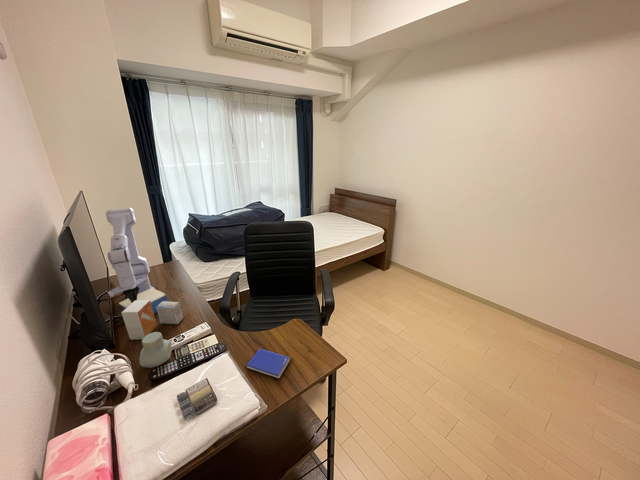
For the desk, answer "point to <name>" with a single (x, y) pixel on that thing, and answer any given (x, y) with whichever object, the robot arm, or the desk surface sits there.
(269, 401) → the desk surface
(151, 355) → the air freshener
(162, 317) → the medicine box
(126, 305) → the lid
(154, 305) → the case
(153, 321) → the small box
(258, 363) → the hard drive
